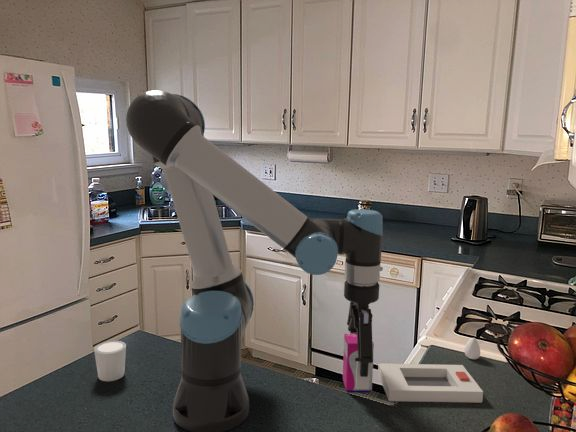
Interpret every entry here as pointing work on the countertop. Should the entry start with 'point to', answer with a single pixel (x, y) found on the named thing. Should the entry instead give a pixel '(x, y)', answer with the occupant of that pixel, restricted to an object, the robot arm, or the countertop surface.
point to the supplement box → (353, 365)
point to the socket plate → (429, 383)
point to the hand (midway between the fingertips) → (357, 372)
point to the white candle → (110, 360)
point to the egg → (472, 349)
